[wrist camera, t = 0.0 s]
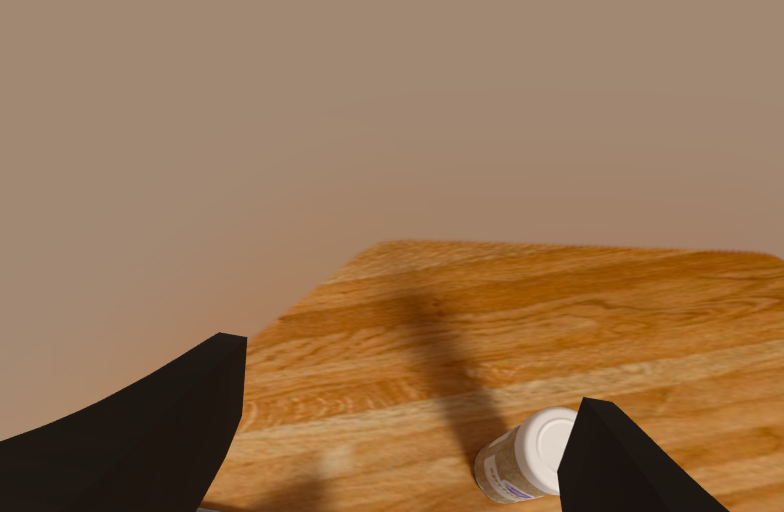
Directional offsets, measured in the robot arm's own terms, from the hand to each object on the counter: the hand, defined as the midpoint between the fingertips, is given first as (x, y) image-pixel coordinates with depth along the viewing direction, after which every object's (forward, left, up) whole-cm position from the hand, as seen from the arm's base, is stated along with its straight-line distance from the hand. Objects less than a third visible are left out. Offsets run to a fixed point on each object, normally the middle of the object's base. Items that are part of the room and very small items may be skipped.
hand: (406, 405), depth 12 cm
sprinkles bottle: (+3, -10, -32) cm, 34 cm away
